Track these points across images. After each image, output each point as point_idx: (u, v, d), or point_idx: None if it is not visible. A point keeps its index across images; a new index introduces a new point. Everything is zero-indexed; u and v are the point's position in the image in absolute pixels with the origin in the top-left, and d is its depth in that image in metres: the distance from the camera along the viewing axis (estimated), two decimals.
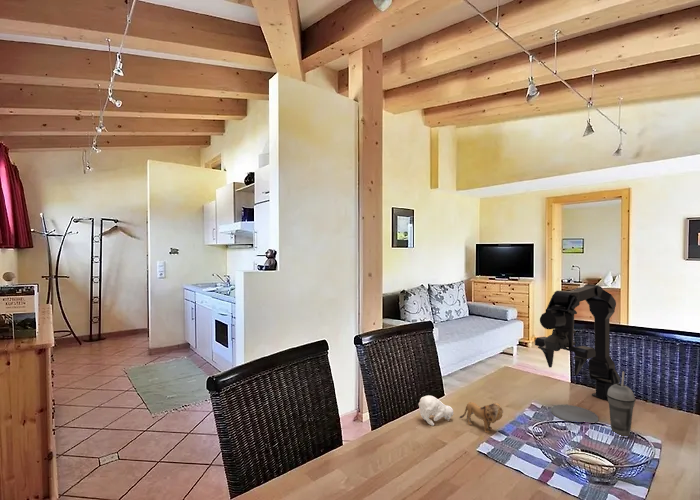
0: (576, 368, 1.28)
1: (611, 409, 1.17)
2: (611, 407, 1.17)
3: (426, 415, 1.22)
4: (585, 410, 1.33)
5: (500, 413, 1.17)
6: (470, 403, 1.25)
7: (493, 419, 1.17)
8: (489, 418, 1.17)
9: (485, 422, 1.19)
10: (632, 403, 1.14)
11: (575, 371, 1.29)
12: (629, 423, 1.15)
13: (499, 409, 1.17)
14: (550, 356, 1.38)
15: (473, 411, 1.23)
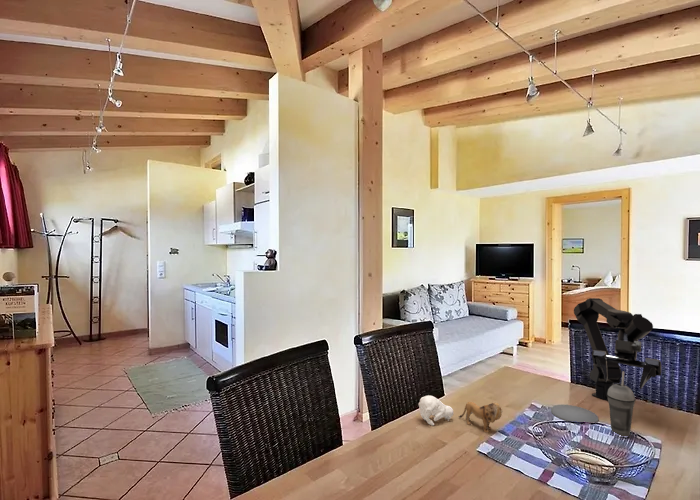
0: (643, 379, 1.21)
1: (611, 409, 1.17)
2: (611, 407, 1.17)
3: (426, 415, 1.22)
4: (585, 410, 1.33)
5: (499, 413, 1.17)
6: (469, 403, 1.25)
7: (492, 419, 1.17)
8: (488, 418, 1.18)
9: (484, 422, 1.19)
10: (632, 403, 1.14)
11: (641, 382, 1.21)
12: (629, 423, 1.15)
13: (498, 409, 1.17)
14: (606, 371, 1.29)
15: (472, 411, 1.23)
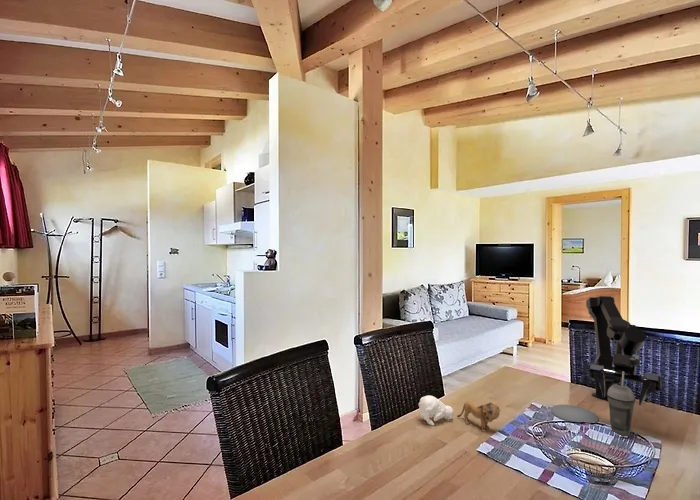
0: (642, 395, 1.15)
1: (611, 409, 1.17)
2: (611, 407, 1.17)
3: (426, 415, 1.22)
4: (585, 410, 1.33)
5: (497, 412, 1.18)
6: (467, 402, 1.25)
7: (490, 418, 1.18)
8: (486, 417, 1.18)
9: (482, 421, 1.19)
10: (632, 403, 1.14)
11: (641, 399, 1.15)
12: (629, 423, 1.15)
13: (496, 408, 1.18)
14: (604, 386, 1.23)
15: (470, 410, 1.24)
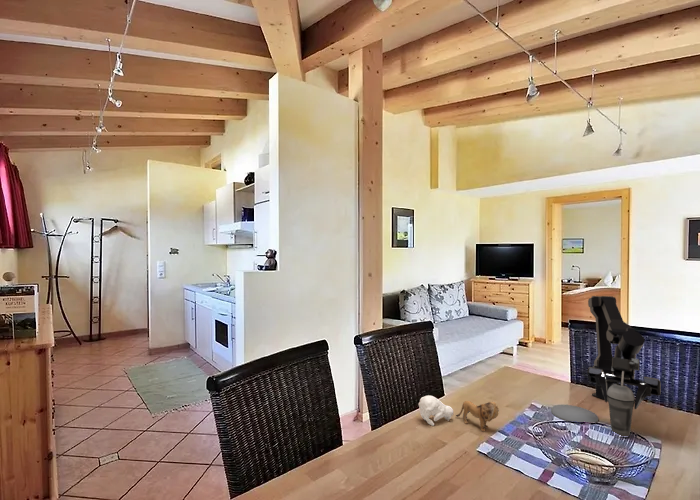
0: (638, 399, 1.15)
1: (611, 409, 1.17)
2: (611, 407, 1.17)
3: (426, 415, 1.22)
4: (585, 410, 1.33)
5: (496, 411, 1.18)
6: (466, 402, 1.26)
7: (489, 417, 1.18)
8: (485, 416, 1.19)
9: (481, 420, 1.20)
10: (632, 403, 1.14)
11: (636, 402, 1.14)
12: (629, 423, 1.15)
13: (495, 407, 1.18)
14: (606, 391, 1.21)
15: (469, 410, 1.24)
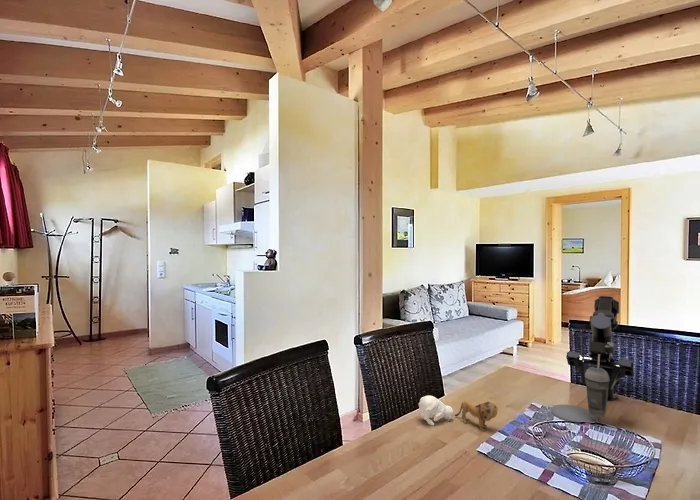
0: (613, 380, 1.21)
1: (588, 390, 1.24)
2: (588, 388, 1.24)
3: (426, 415, 1.22)
4: (585, 410, 1.33)
5: (495, 411, 1.18)
6: (465, 401, 1.26)
7: (488, 417, 1.18)
8: (484, 416, 1.19)
9: (480, 420, 1.20)
10: (607, 384, 1.21)
11: (611, 383, 1.21)
12: (605, 403, 1.22)
13: (494, 407, 1.19)
14: (584, 373, 1.28)
15: (468, 409, 1.24)
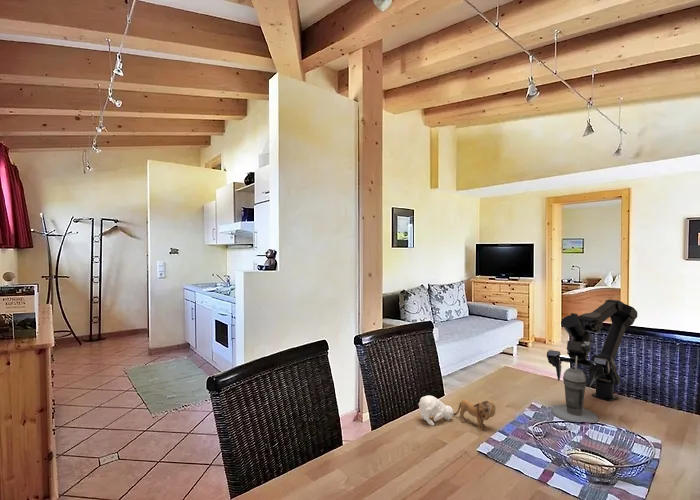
0: (591, 378, 1.28)
1: (566, 390, 1.31)
2: (566, 388, 1.31)
3: (426, 415, 1.22)
4: (585, 410, 1.33)
5: (493, 410, 1.19)
6: (463, 401, 1.27)
7: (486, 416, 1.19)
8: (482, 415, 1.20)
9: (478, 419, 1.21)
10: (584, 384, 1.28)
11: (590, 381, 1.27)
12: (581, 402, 1.29)
13: (492, 406, 1.19)
14: (560, 370, 1.35)
15: (466, 408, 1.25)
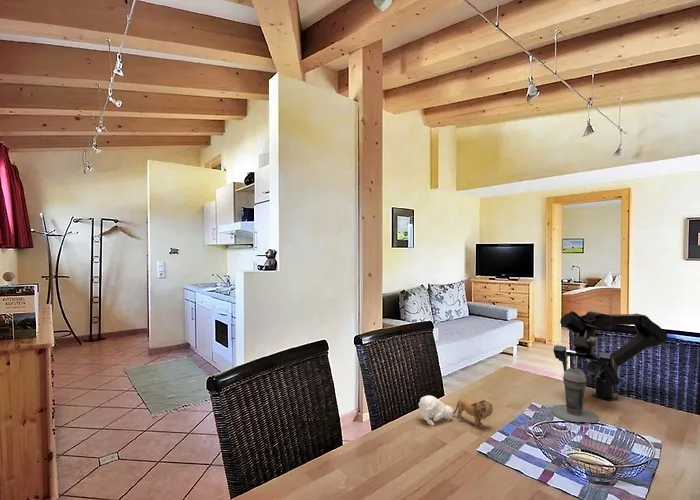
0: (597, 371, 1.35)
1: (566, 390, 1.31)
2: (566, 388, 1.31)
3: (426, 415, 1.22)
4: (585, 410, 1.33)
5: (490, 409, 1.20)
6: (461, 400, 1.27)
7: (484, 415, 1.20)
8: (480, 414, 1.20)
9: (476, 418, 1.21)
10: (584, 384, 1.28)
11: (595, 374, 1.34)
12: (581, 402, 1.29)
13: (489, 405, 1.20)
14: (566, 364, 1.42)
15: (464, 408, 1.25)
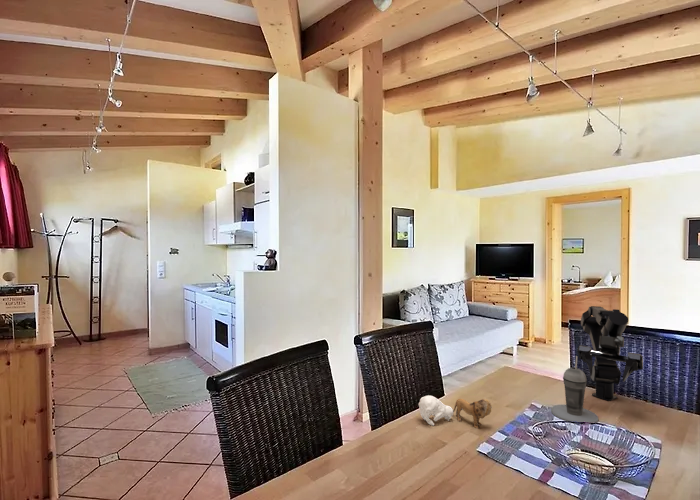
0: (625, 373, 1.27)
1: (566, 390, 1.31)
2: (566, 388, 1.31)
3: (426, 415, 1.22)
4: (585, 410, 1.33)
5: (489, 408, 1.20)
6: (459, 399, 1.28)
7: (482, 414, 1.20)
8: (478, 414, 1.21)
9: (474, 418, 1.22)
10: (584, 384, 1.28)
11: (624, 376, 1.26)
12: (581, 402, 1.29)
13: (488, 405, 1.20)
14: (591, 365, 1.34)
15: (462, 407, 1.26)
